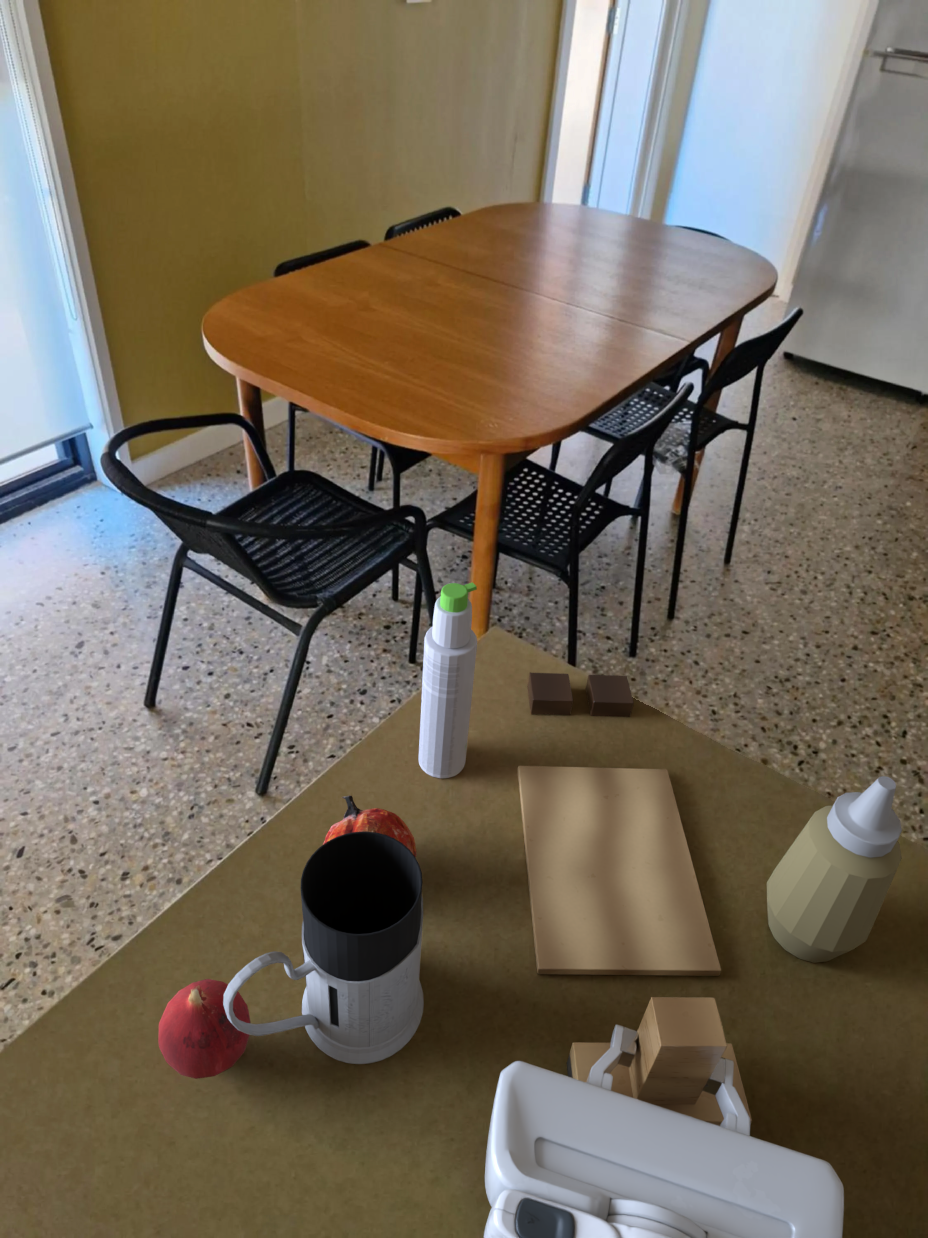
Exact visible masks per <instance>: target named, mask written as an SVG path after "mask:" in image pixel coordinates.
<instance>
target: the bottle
mask: <svg viewBox="0 0 928 1238" xmlns="http://www.w3.org/2000/svg"><path fill="white" fill-rule="evenodd" d="M477 587H478V586H477V585H476V584H475V583H474V582H472V581H471V582H469V583H465V584H464V585H463V584H460V583H457V582H451V583H447V584H445V585H443V587H441V591H440V596H439V597H438V598H437V599H436V600H435V603H434V608H433V616H432V626H431V627H430V628H429V629H428V630H427V631H426V633H425V635H424V641H423V662H422V681H421V682H422V683H421V701H420V718H419V719H420V723H419V740H418V741H419V743H418V744H419V745H418V764H419V766H420V769H421V770H422V771H423V772H424V773H425V774H426V775H428V776H430V777H432V778H435V779H436V778H437V779H450V778H453V777H455V776H457V775H459V774H460V773H461V772H462V770H463V769H464V768H465V765H466V760H467V759H466V758H467V751H468V741H469V732H470V731H469V728H470V721H471V720H470V719H471V710H472V701H473V700H472V698H473V689H474V681H475V669H476V661H477V659H476V658H477V651H478V637H477V634H476V633H475V632H474V630H473V629H472V625H473V605H472V602H471V600H470V599H469V593H471V592H474V591H476V590H477V589H478V588H477Z"/></svg>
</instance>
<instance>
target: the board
mask: <svg viewBox="0 0 928 1238" xmlns="http://www.w3.org/2000/svg"><path fill="white" fill-rule="evenodd" d="M517 780H518V791H519V800H520V811H521V820H522V821H521V822H522V832H523V839H524V840H523V841H524V852H525V861H526V872H527V883H528V893H529V904H530V913H531V922H532V923H531V924H532V933H533V944H534V945H533V946H534V953H535V954H534V955H535V964H536V965H535V967H536V973H537V975H582V976H583V975H588V976H589V975H590V976H591V975H594V976H595V975H597V976H599V975H600V976H601V975H602V976H691V977H692V976H693V977H694V976H697V977H698V976H700V977H701V976H702V977H703V976H705V977H709V976H710V977H712V976H714V977H718V976H720V975H721V972H722V967H721V964H720V960H719V956H718V953H717V949H716V945H715V942H714V938H713V934H712V931H711V926H710V923H709V919H708V916H707V911H706V908H705V905H704V900H703V897H702V893H701V889H700V886H699V882H698V877H697V875H696V871H695V867H694V863H693V860H692V856H691V853H690V849H689V845H688V841H687V836H686V833H685V830H684V827H683V826H684V825H683V823H682V819H681V815H680V811H679V807H678V804H677V800H676V797H675V794H674V793H675V792H674V788H673V786H672V782H671V778H670V773H669V771H668V769H666V768H634V767H633V768H632V767H631V768H628V767H626V768H625V767H592V766H591V767H589V766H588V767H587V766H548V765H547V766H546V765H544V766H543V765H518V767H517Z"/></svg>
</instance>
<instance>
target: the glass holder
mask: <svg viewBox="0 0 928 1238" xmlns="http://www.w3.org/2000/svg"><path fill="white" fill-rule="evenodd" d="M423 884H424V883H423V873H422V869H421V866H420V863H419V861H418V859H417V856H416V857H415V856H414V855H413V853H412V852H411V851H410V850H409V849H408V848H407V847H406V846H405V845H404V844H403V843H401V842H399V841H398V840H396V839H395V838H392V837H390V836H387V835H385V834H381V833H376V832H367V831H363V832H352V833H347V834H344V835H341V836H338V837H335V838H333V839H332V840H330V841H328V842H326V843H325V844H323V843H322V845H321V846H319V847H318V848H317V849H316V850H315V851H314V852H313V853H312V855H310V857H309V858H308V860H307V861H306V863H305V866H304V868H303V870H302V873H301V877H300V898H301V899H300V900H301V911H302V912H301V913H302V923H301V944H302V955H303V964H301V965H300V966H298V967H296V968H294V965H293V962H292V960H291V958H289V956H288V955H286V954H285V953H284V952H282V951H276V950H273V951H270V952H269V951H268V952H265V953H263V954H261V955H259V956H258V957H255V958H254V959H252V960H251V961H250V962H248V963H247V964H245V966H244V967H243V968H241V969H240V970H239V971H238V972H237V973H236V974H235V975H234V976H233V978H232V979H231V980H230V981H229V983H227V984H228V986H227V989H226V991H225V993H224V1001H223V1005H224V1009H225V1012H226V1015H227V1018H228V1019H229V1021H230V1022H231V1023H232V1024H233V1025H234V1026H235V1027H236V1028H237V1029H238V1030H239V1031H241V1032H244V1033H246V1034H249V1036H255V1037H262V1036H268V1035H273V1034H277V1033H282V1032H287V1031H290V1030H293V1029H298V1028H301V1027H304V1028H305V1030H306V1033H307V1034H308V1036H309V1038H310V1040H311V1041H312V1042H313V1044H314V1045H315V1046H316V1047H317V1048H318V1049H319V1050H320V1051H321V1052H323V1053H324V1054H326V1056H328V1057H330V1058H332V1059H334V1060H336V1061H339V1062H342V1063H346V1064H353V1065H354V1064H355V1065H365V1064H373V1063H376V1062H380V1061H384V1060H386V1059H388V1058H390V1057H392V1056H393V1055H395V1054H396V1053H398V1052H399V1051H401V1050H402V1049H403V1048H404V1047H405V1046H406V1045H407V1044H408V1043H410V1040H411V1039H412V1038H413V1036H414V1035H415V1034H416V1031H417V1030H418V1028H419V1026H420V1024H421V1020H422V1017H423V1013H424V1005H425V1004H424V1003H425V1002H424V992H423V988H422V984H421V981H420V972H421V971H420V969H421V957H422V955H421V954H422V939H423V938H422V937H423V925H424V897H423ZM275 964H283V968H284V970H285V973H286V975H287V976H288V978H290V979H291V980H293V981H299V980H301V979H304V978H305V989H304V992H303V996H302V1001H301V1015H296V1016H293V1017H289V1018H285V1019H281V1020H275V1021H272V1022H265V1023H252V1022H251V1023H246V1022H243V1021H241V1020H239V1019H238V1018H237V1017H235V1014H234V1012H233V1000H234V998H235V996H236V993H237V991H238V992H239V990H240V989H241V988H242V987H243V985H244V984H245V983H246V982H247V981H249V979H251V977H253V976H255V974H256V973H258V972H259V971H261V970H262V969H264V968H266V967H269V966H270V965H275Z"/></svg>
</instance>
